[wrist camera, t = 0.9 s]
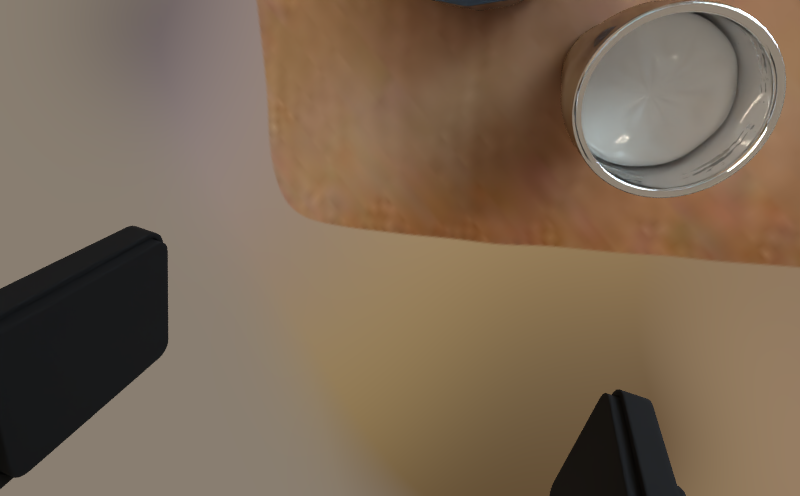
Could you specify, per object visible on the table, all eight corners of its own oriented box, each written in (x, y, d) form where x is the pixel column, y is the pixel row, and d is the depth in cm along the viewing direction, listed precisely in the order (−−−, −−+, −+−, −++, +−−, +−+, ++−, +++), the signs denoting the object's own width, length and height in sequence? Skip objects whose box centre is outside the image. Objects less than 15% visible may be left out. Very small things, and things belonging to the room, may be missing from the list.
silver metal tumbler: (660, 134, 31) (755, 213, 17) (546, 127, 32) (552, 194, 19) (690, 11, 28) (830, -8, 14) (562, 9, 29) (583, -9, 16)
